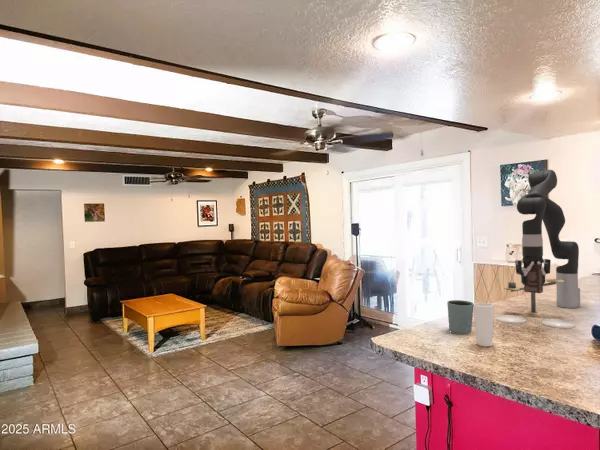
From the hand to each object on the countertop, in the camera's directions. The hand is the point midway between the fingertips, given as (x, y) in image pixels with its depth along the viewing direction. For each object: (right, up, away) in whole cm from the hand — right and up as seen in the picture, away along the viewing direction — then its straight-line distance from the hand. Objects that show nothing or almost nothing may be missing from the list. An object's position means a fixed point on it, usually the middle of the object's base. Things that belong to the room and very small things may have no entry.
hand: (533, 284), depth 168 cm
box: (0, -4, 0) cm, 4 cm away
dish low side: (-3, -18, +12) cm, 22 cm away
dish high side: (+12, -18, +3) cm, 22 cm away
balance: (+11, -18, +19) cm, 28 cm away
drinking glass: (-30, -19, -21) cm, 42 cm away
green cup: (-32, -19, -3) cm, 37 cm away
